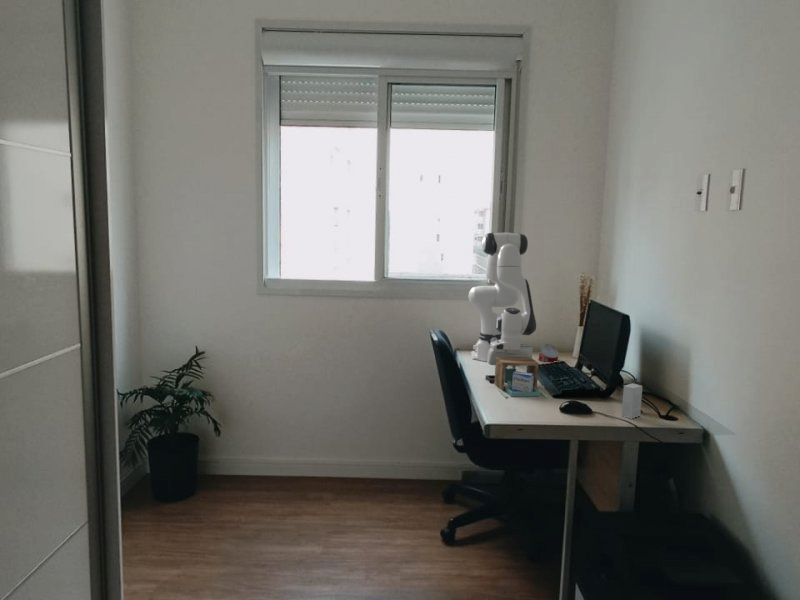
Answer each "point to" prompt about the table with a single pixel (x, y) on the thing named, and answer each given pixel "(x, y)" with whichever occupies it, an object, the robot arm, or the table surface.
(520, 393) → the sled
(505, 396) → the bay marker left
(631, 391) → the skincare box
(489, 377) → the pit left
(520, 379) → the medicine box
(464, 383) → the table surface
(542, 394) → the bay marker right
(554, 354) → the canned food
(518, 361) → the tunnel
